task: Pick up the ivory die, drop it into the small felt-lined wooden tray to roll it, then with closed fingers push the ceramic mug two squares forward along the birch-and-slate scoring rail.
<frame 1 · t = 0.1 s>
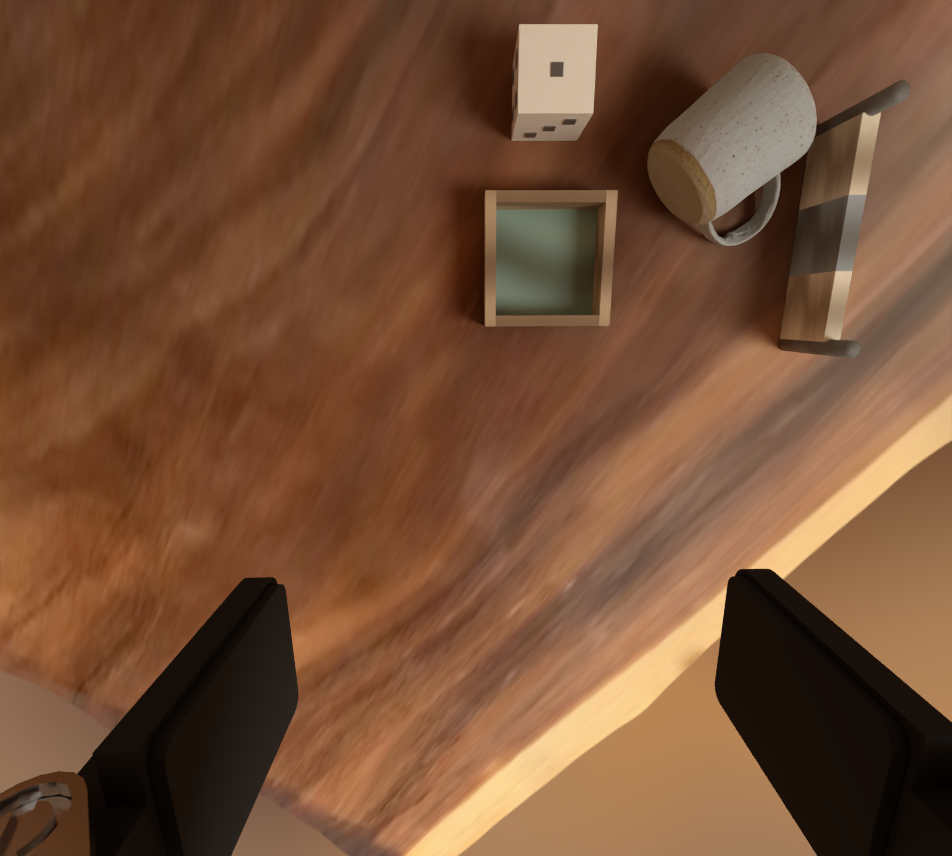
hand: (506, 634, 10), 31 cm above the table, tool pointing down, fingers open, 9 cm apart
scoring rail: (801, 244, 37), on the table
felt tray: (543, 264, 37), on the table
ceramic mug: (708, 178, 36), on the table
die: (545, 103, 35), on the table
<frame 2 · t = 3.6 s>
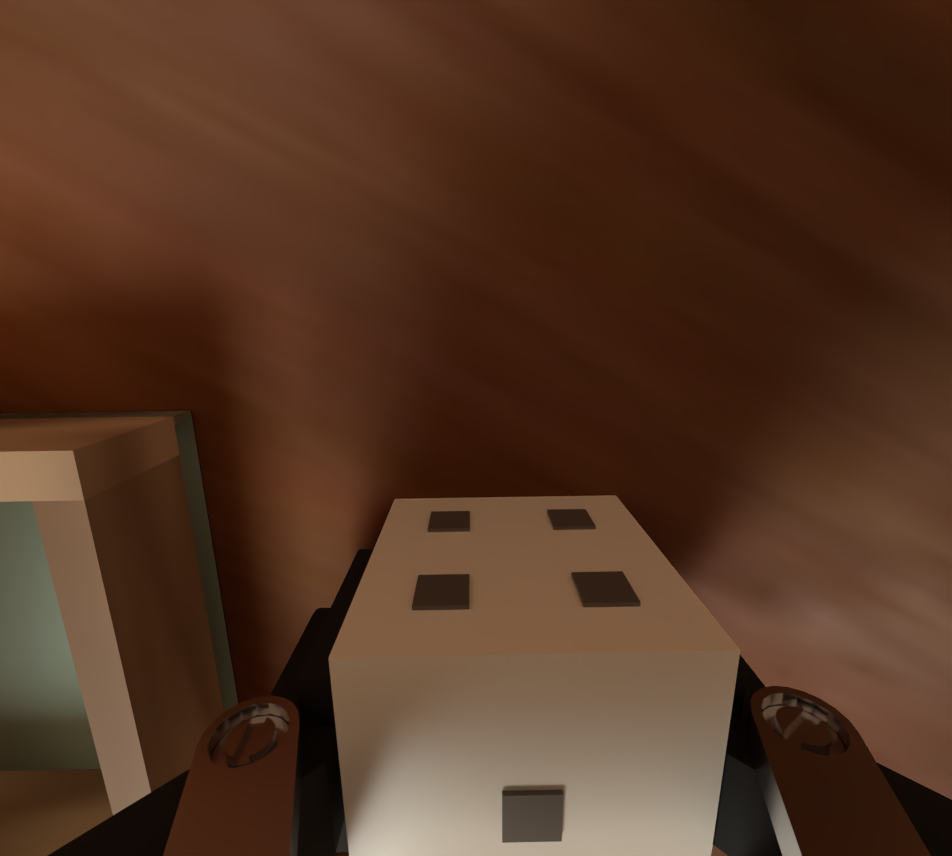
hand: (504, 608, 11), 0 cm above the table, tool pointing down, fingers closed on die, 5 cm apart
felt tray: (19, 611, 11), on the table
die: (505, 594, 11), on the table, touching gripper
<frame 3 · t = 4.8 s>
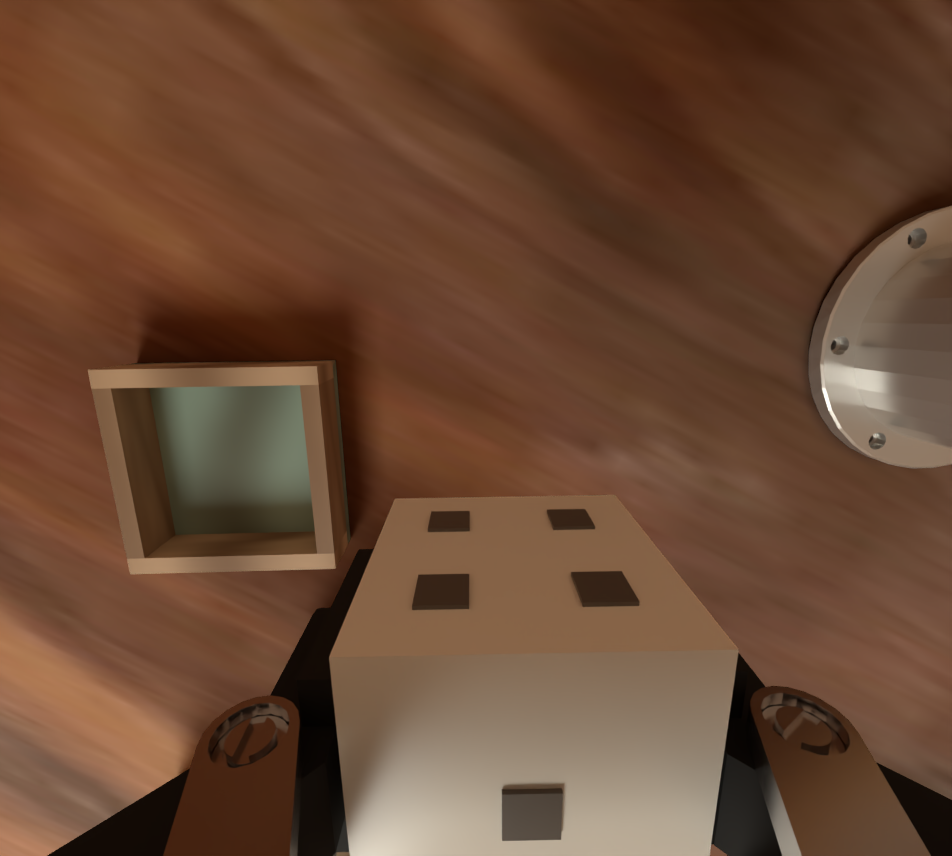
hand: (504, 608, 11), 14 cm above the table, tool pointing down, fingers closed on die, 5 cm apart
felt tray: (249, 455, 24), on the table
die: (504, 594, 11), point 13 cm above the table, touching gripper
when the fingers open (9 cm above the table, at t = 6.4 s): die drops 8 cm, resting on felt tray.
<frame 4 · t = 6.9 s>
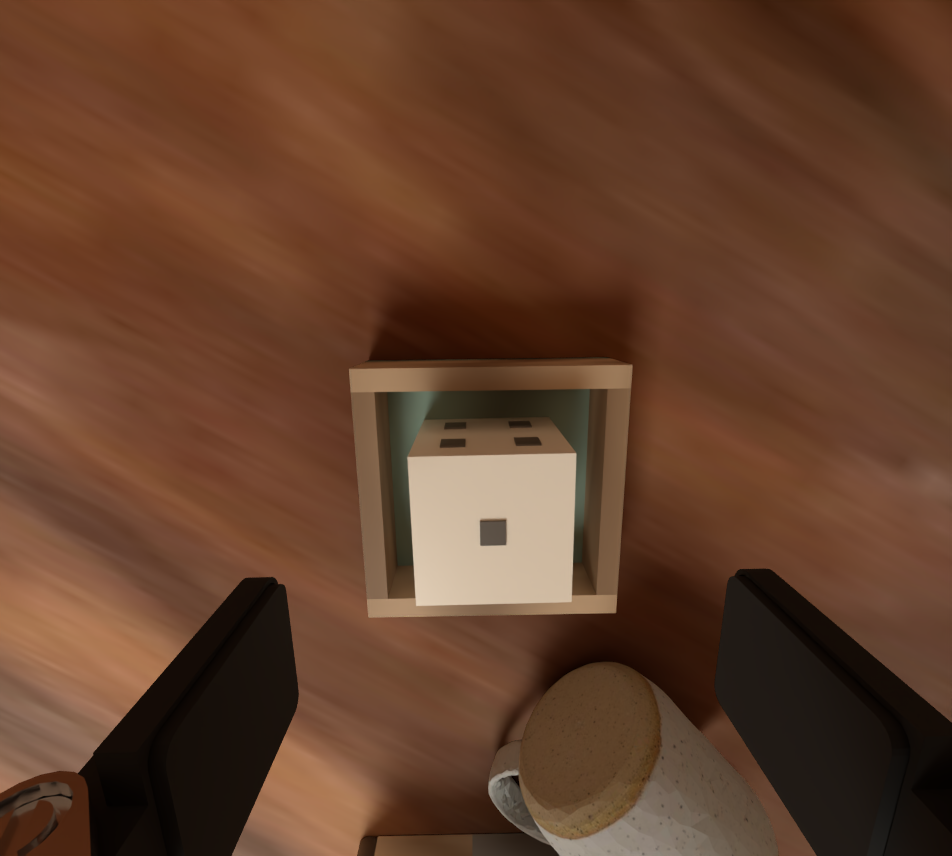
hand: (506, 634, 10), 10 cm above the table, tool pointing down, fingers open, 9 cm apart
scoring rail: (519, 841, 25), on the table
felt tray: (488, 472, 20), on the table
ceramic mug: (589, 730, 23), on the table
die: (487, 477, 19), point 1 cm above the table, touching felt tray
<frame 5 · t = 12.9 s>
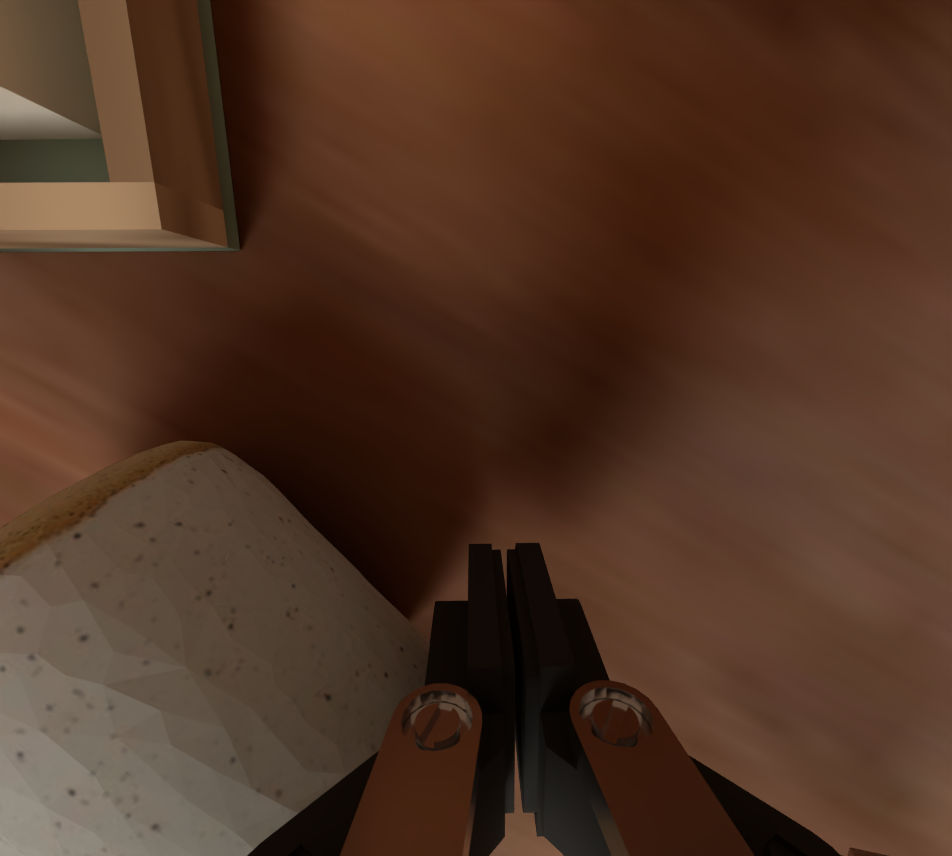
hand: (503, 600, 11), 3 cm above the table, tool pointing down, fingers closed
ceramic mug: (248, 602, 14), on the table, touching gripper
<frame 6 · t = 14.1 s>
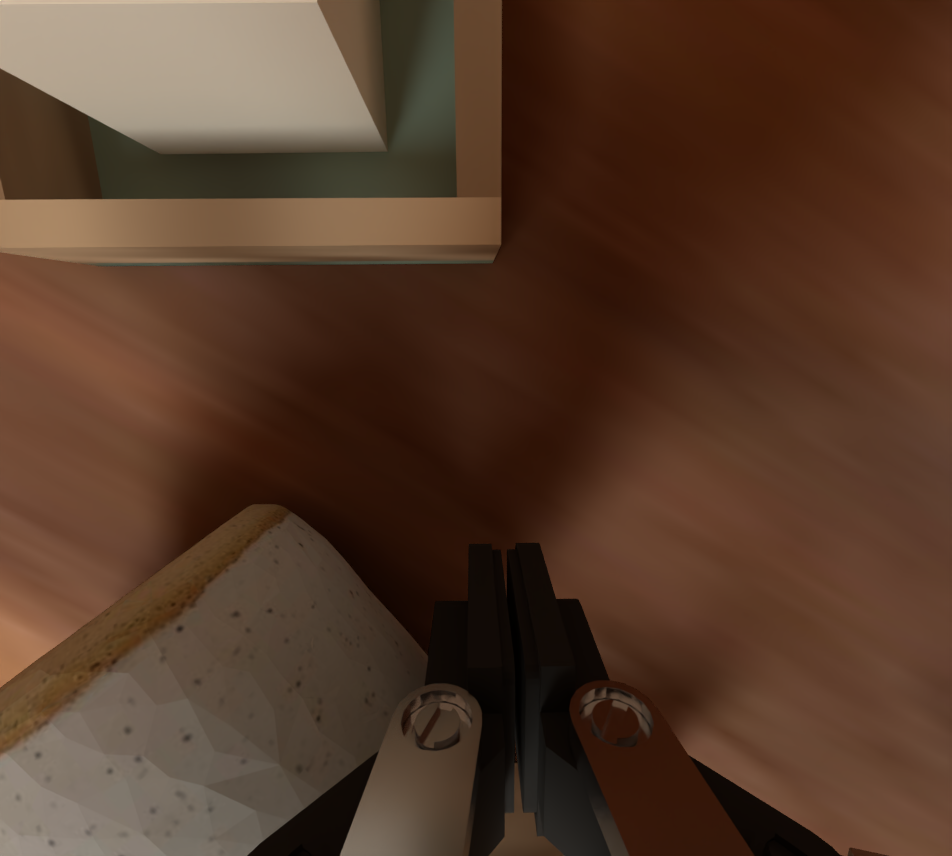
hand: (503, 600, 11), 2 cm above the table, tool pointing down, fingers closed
scoring rail: (391, 781, 15), on the table
felt tray: (275, 36, 10), on the table
ceramic mug: (284, 648, 14), on the table, touching gripper
die: (260, 20, 10), point 1 cm above the table, touching felt tray
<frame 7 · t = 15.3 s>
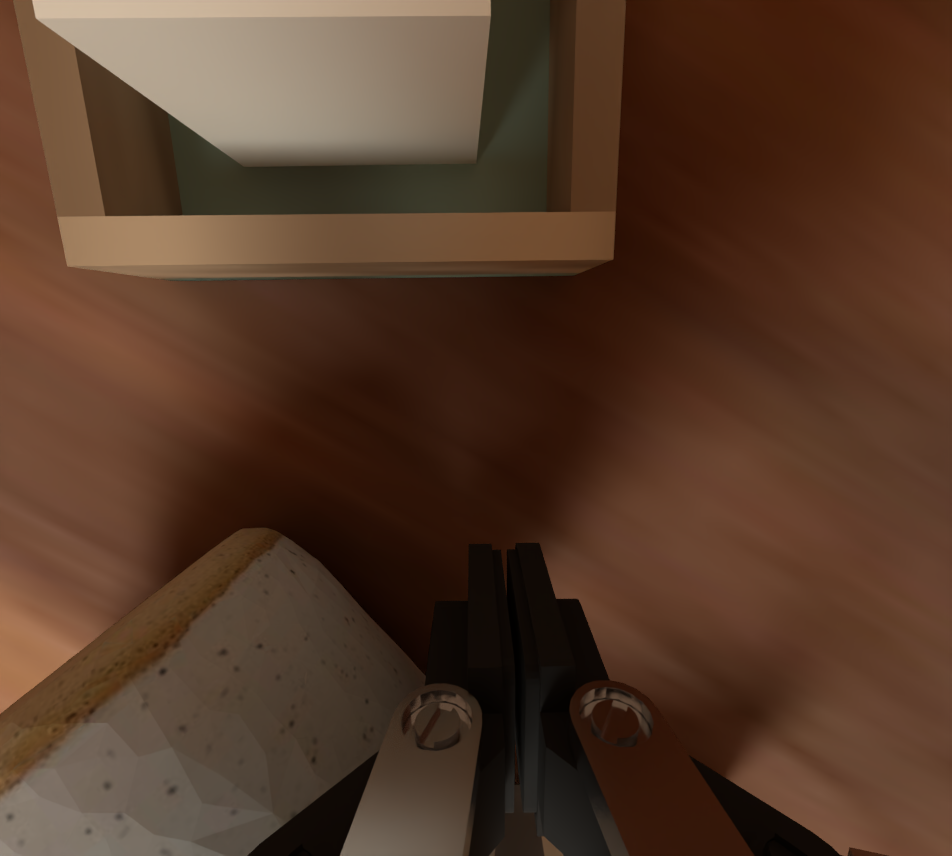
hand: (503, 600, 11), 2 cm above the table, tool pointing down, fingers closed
scoring rail: (454, 802, 15), on the table
felt tray: (361, 46, 10), on the table
ceramic mug: (280, 673, 14), on the table, touching gripper, scoring rail
die: (351, 30, 9), point 1 cm above the table, touching felt tray
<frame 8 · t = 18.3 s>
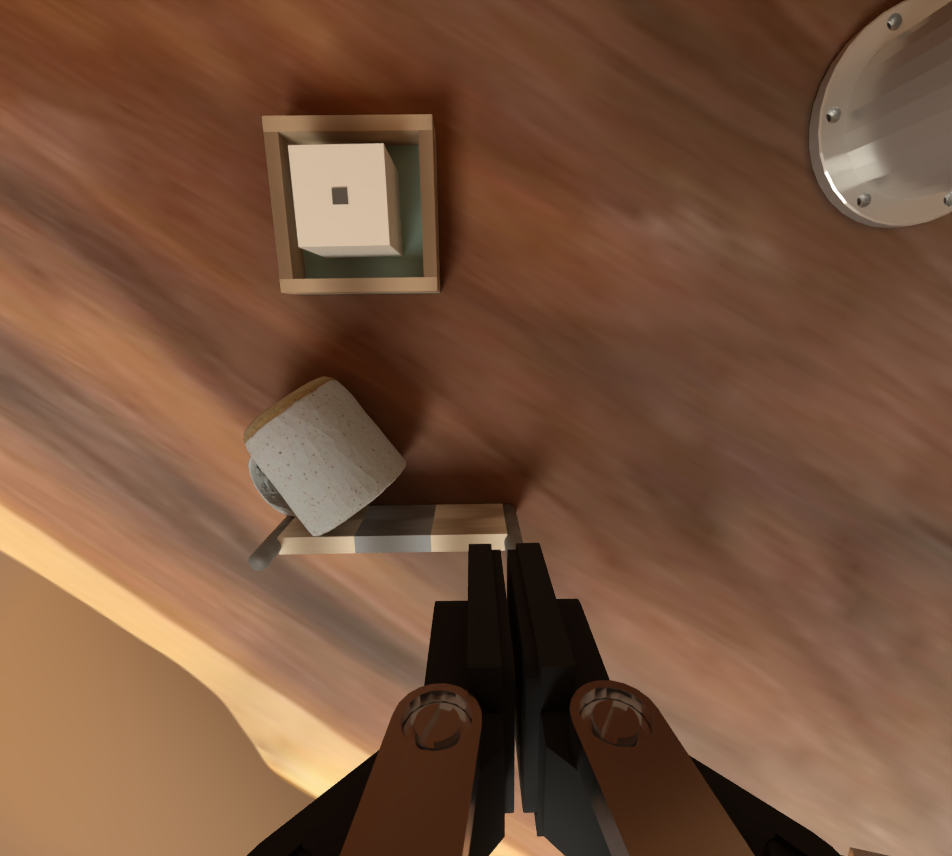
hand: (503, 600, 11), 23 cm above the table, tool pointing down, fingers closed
scoring rail: (403, 512, 35), on the table
felt tray: (364, 217, 30), on the table
ceramic mug: (330, 451, 34), on the table
die: (361, 215, 30), point 1 cm above the table, touching felt tray
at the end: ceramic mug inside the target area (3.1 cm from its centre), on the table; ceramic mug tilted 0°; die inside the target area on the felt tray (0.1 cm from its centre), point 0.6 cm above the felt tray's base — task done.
